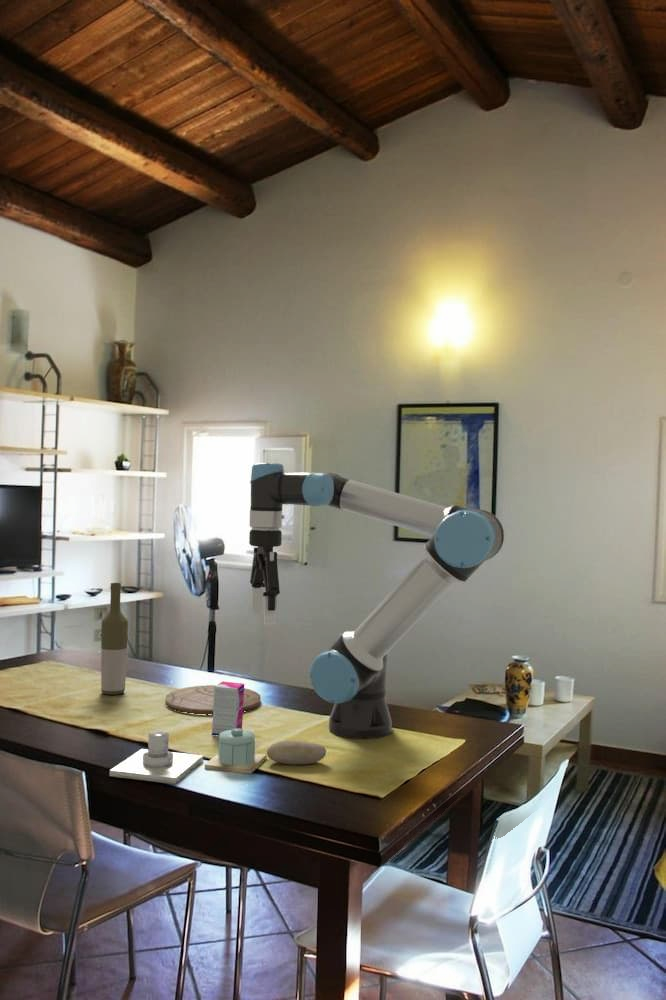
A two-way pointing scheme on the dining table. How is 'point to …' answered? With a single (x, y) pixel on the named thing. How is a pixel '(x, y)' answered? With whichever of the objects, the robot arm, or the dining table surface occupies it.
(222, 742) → the cap
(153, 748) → the post
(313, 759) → the stone
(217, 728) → the supplement box
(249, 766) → the coaster
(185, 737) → the dining table surface
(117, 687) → the bottle
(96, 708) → the dining table surface
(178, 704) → the trivet
